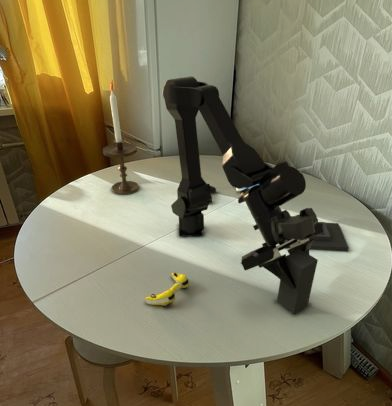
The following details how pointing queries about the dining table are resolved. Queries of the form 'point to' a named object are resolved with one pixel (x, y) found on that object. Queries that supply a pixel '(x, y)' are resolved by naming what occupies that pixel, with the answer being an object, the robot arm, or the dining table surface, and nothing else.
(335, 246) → the base pad
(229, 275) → the dining table surface
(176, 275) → the yellow toy animal
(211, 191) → the gaming controller
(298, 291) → the dark rectangular block
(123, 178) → the candlestick
